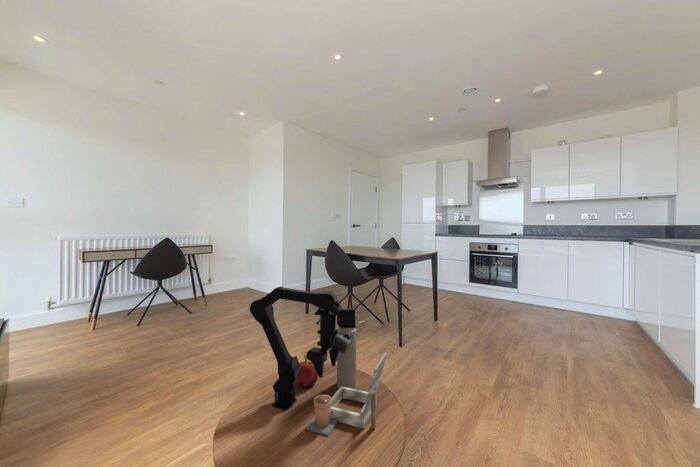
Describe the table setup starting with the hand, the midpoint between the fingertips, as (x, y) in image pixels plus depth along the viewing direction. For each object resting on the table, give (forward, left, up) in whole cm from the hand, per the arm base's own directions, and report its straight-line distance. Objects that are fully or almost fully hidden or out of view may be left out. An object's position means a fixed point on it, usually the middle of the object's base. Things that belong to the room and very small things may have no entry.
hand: (327, 371), depth 95 cm
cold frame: (+11, +1, -12) cm, 16 cm away
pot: (+3, -9, -11) cm, 15 cm away
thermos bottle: (+1, +16, -12) cm, 20 cm away
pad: (+3, -9, -12) cm, 15 cm away
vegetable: (-15, +11, -12) cm, 22 cm away
